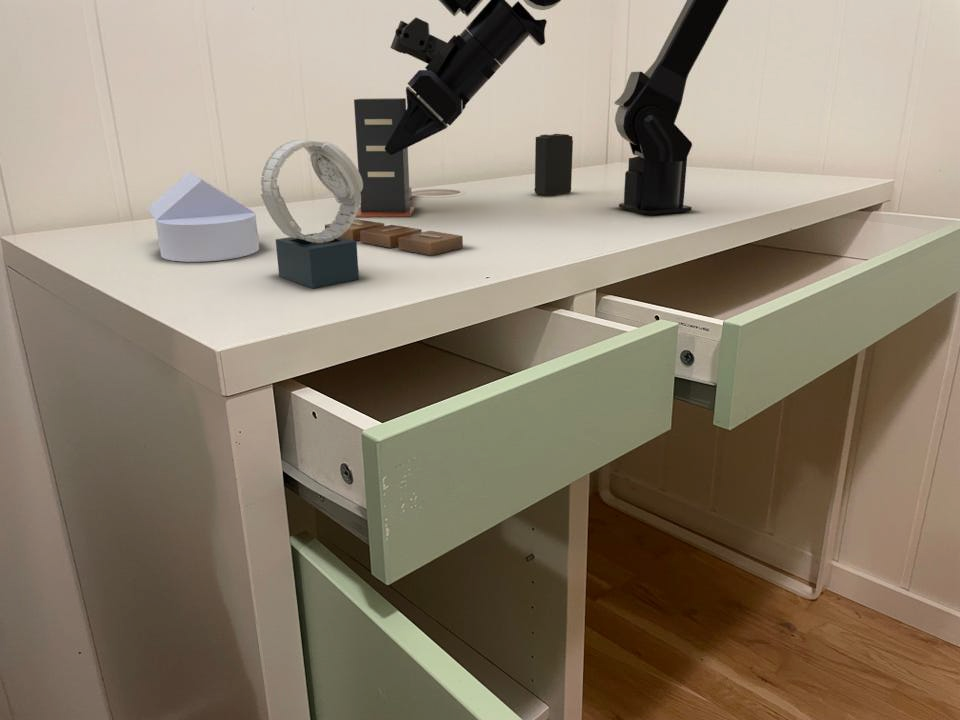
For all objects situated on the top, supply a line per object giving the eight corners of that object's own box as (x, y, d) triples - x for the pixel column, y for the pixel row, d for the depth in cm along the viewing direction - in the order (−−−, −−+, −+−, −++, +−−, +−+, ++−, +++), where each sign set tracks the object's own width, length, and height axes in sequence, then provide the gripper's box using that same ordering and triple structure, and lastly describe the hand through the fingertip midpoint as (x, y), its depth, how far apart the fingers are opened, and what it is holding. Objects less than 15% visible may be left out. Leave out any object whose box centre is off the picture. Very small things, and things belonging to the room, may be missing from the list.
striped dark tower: (366, 207, 98) (360, 98, 94) (410, 207, 98) (405, 98, 93) (360, 212, 95) (353, 99, 90) (405, 212, 94) (400, 99, 90)
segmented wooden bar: (463, 248, 75) (462, 234, 75) (431, 255, 72) (431, 241, 72) (357, 229, 85) (356, 217, 84) (325, 236, 82) (324, 223, 81)
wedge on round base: (152, 240, 80) (166, 265, 69) (142, 174, 78) (154, 189, 67) (241, 232, 84) (268, 255, 73) (234, 168, 82) (260, 182, 71)
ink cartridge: (560, 191, 111) (561, 133, 109) (571, 193, 110) (573, 134, 107) (534, 194, 109) (534, 135, 106) (545, 196, 107) (546, 135, 104)
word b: (410, 216, 93) (409, 205, 92) (351, 216, 93) (350, 205, 92) (421, 196, 108) (420, 186, 108) (370, 196, 108) (370, 187, 108)
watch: (378, 275, 65) (371, 139, 62) (292, 292, 60) (278, 145, 57) (342, 264, 69) (333, 136, 66) (259, 279, 64) (244, 141, 61)
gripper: (436, 1, 96) (353, 97, 100) (425, -16, 78) (325, 101, 82) (501, 68, 99) (417, 159, 102) (504, 66, 81) (403, 176, 85)
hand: (392, 148), depth 93 cm, fingers open, 9 cm apart
